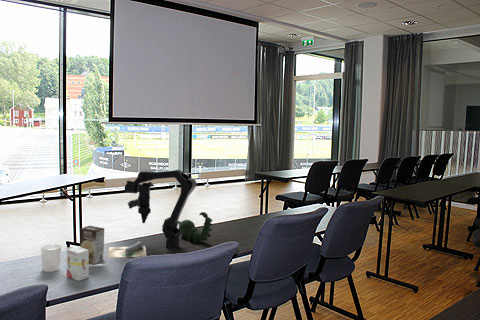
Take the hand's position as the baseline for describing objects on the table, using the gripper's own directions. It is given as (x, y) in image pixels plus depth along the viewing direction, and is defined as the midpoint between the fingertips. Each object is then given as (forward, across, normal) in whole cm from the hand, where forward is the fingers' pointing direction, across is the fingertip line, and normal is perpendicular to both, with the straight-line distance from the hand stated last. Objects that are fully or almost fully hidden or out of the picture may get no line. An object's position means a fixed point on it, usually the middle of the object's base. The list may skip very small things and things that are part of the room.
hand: (143, 223), depth 219 cm
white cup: (+12, +33, -40) cm, 53 cm away
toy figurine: (+12, -6, +28) cm, 31 cm away
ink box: (+12, +44, -28) cm, 54 cm away
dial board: (+12, +14, -8) cm, 20 cm away
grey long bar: (+11, +15, -5) cm, 19 cm away
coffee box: (+12, +25, -24) cm, 37 cm away
